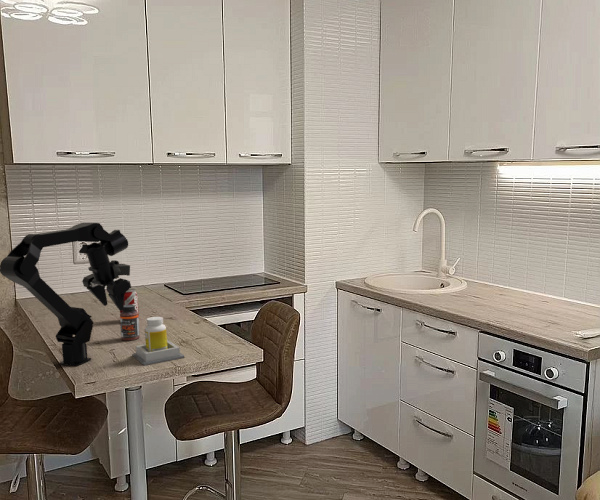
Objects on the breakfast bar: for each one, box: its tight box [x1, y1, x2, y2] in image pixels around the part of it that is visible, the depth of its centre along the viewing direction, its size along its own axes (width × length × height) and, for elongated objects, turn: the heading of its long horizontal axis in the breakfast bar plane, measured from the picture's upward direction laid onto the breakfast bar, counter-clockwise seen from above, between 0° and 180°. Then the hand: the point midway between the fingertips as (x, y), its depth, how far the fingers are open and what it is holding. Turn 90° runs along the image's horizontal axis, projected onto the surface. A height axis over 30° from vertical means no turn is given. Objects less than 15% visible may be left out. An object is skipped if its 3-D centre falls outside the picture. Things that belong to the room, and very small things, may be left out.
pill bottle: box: [144, 316, 168, 352], centre depth 172 cm, size 6×6×11 cm
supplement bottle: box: [119, 305, 141, 342], centre depth 193 cm, size 6×6×11 cm
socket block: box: [131, 339, 185, 366], centre depth 172 cm, size 12×12×3 cm
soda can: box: [119, 288, 140, 318], centre depth 218 cm, size 7×7×12 cm
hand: (113, 307), depth 181 cm, fingers open, 9 cm apart
